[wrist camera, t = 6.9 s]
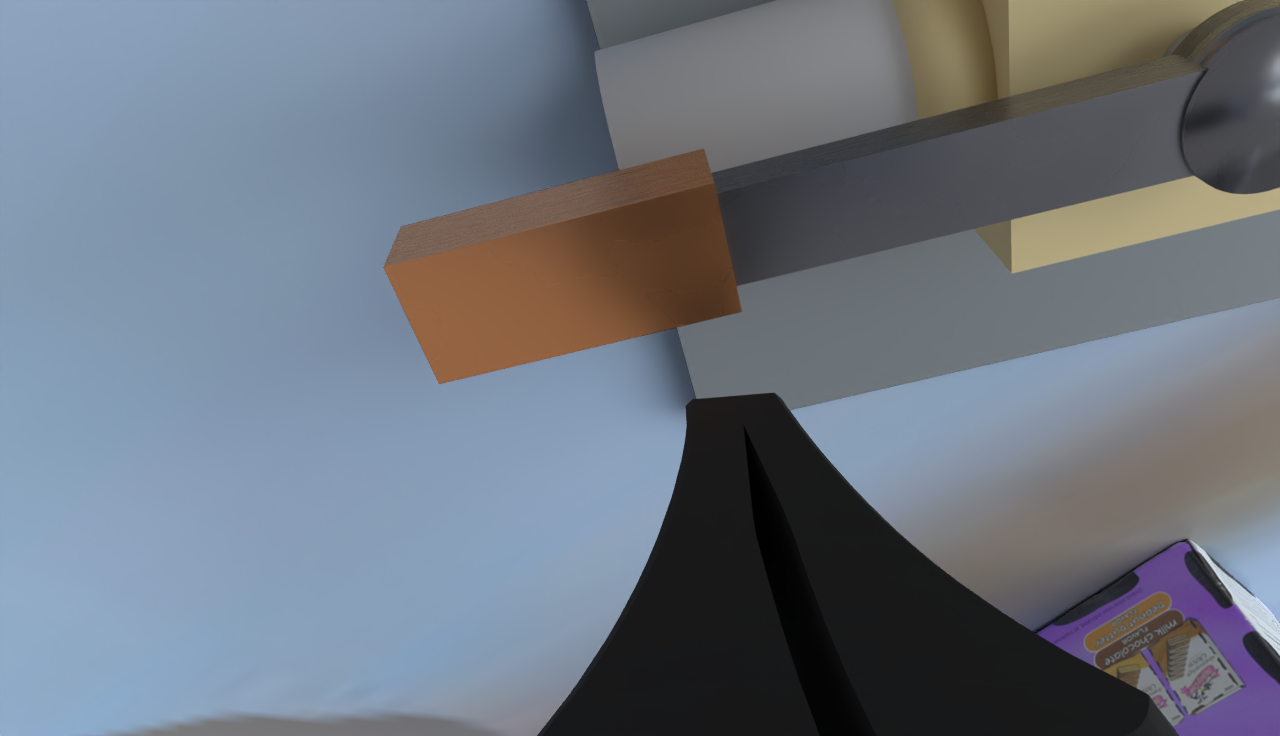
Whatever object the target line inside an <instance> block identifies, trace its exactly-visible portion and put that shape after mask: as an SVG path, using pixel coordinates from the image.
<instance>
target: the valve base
mask: <svg viewBox="0 0 1280 736" xmlns="http://www.w3.org/2000/svg"><path fill="white" fill-rule="evenodd" d="M586 1H587V4H588V8H589V12H590V15H591V19H592V22H593V26H594V30H595V33H596V37H597V41H598V44H599V48H600V50H598V51H595V65H596V71H597V77H598V82H599V88H600V92H601V97H602V102H603V107H604V111H605V115H606V120H607V124H608V128H609V132H610V137H611V141H612V145H613V149H614V153H615V156H616V160H617V164H618V168H619V170H622V169H626V168H629V167H633V166H637V165H641V164H645V163H649V162H653V161H656V160H660V159H664V158H668V157H672V156H676V155H680V154H683V153H687V152H691V151H695V150H699V149H703V148H704V150H705V154H706V157H707V160H708V164H709V167H710V170H711V173H713V172H717V171H721V170H725V169H729V168H733V167H736V166H740V165H744V164H748V163H752V162H756V161H760V160H764V159H768V158H772V157H775V156H779V155H783V154H787V153H791V152H795V151H799V150H803V149H807V148H811V147H815V146H818V145H822V144H826V143H830V142H834V141H838V140H842V139H846V138H850V137H854V136H858V135H861V134H865V133H869V132H873V131H877V130H881V129H885V128H889V127H893V126H897V125H901V124H904V123H908V122H912V121H916V120H920V119H924V118H928V117H932V116H936V115H940V114H943V113H947V112H951V111H955V110H959V109H963V108H967V107H971V106H975V105H979V104H983V103H986V102H990V101H994V100H998V99H1002V98H1006V97H1010V96H1014V95H1018V94H1022V93H1026V92H1029V91H1033V90H1037V89H1041V88H1045V87H1049V86H1053V85H1057V84H1061V83H1065V82H1068V81H1072V80H1076V79H1080V78H1084V77H1088V76H1092V75H1096V74H1100V73H1104V72H1108V71H1111V70H1115V69H1119V68H1123V67H1127V66H1131V65H1135V64H1139V63H1143V62H1147V61H1151V60H1154V59H1158V58H1162V57H1166V56H1170V55H1171V54H1172V53H1173V51H1174V50H1175V49H1176V48H1177V46H1178V45H1179V44H1180V43H1181V42H1182V41H1183V40H1184V39H1185V38H1186V37H1187V36H1188V34H1189V33H1190V32H1191V31H1193V30H1194V29H1195V28H1196V27H1197V26H1199V25H1200V24H1201V23H1202V22H1204V21H1205V20H1206V19H1208V18H1209V17H1211V16H1212V15H1213V14H1215V13H1217V12H1219V11H1220V10H1222V9H1224V8H1226V7H1228V6H1230V5H1232V4H1235V3H1237V2H1240V1H1243V0H586ZM737 291H738V295H739V300H740V304H741V309H742V312H740V313H736V314H732V315H727V316H723V317H719V318H715V319H711V320H707V321H702V322H698V323H694V324H690V325H686V326H681V327H677V330H678V334H679V338H680V341H681V345H682V348H683V352H684V356H685V359H686V363H687V367H688V370H689V374H690V377H691V381H692V385H693V388H694V392H695V396H696V399H701V398H713V397H725V396H737V395H750V394H762V393H774V392H775V393H776V394H777V395H778V396H779V397H780V398H782V400H783V401H784V403H785V404H786V406H787V407H788V409H789V410H793V409H797V408H801V407H806V406H810V405H814V404H819V403H823V402H828V401H832V400H836V399H841V398H845V397H849V396H854V395H858V394H862V393H867V392H871V391H875V390H880V389H884V388H889V387H893V386H897V385H902V384H906V383H910V382H915V381H919V380H923V379H928V378H932V377H936V376H941V375H945V374H950V373H954V372H958V371H963V370H967V369H971V368H976V367H980V366H984V365H989V364H993V363H997V362H1002V361H1006V360H1011V359H1015V358H1019V357H1024V356H1028V355H1032V354H1037V353H1041V352H1045V351H1050V350H1054V349H1058V348H1063V347H1067V346H1072V345H1076V344H1080V343H1085V342H1089V341H1093V340H1098V339H1102V338H1106V337H1111V336H1115V335H1119V334H1124V333H1128V332H1133V331H1137V330H1141V329H1146V328H1150V327H1154V326H1159V325H1163V324H1167V323H1172V322H1176V321H1180V320H1185V319H1189V318H1194V317H1198V316H1202V315H1207V314H1211V313H1215V312H1220V311H1224V310H1228V309H1233V308H1237V307H1241V306H1246V305H1250V304H1255V303H1259V302H1263V301H1268V300H1272V299H1276V298H1280V188H1277V189H1273V190H1270V191H1266V192H1261V193H1255V194H1232V193H1228V192H1223V191H1220V190H1218V189H1215V188H1213V187H1211V186H1210V185H1208V184H1206V183H1205V182H1203V181H1202V180H1200V179H1199V178H1197V177H1196V176H1191V177H1187V178H1183V179H1178V180H1174V181H1170V182H1166V183H1162V184H1158V185H1154V186H1149V187H1145V188H1141V189H1137V190H1133V191H1129V192H1125V193H1120V194H1116V195H1112V196H1108V197H1104V198H1100V199H1096V200H1091V201H1087V202H1083V203H1079V204H1075V205H1071V206H1067V207H1063V208H1058V209H1054V210H1050V211H1046V212H1042V213H1038V214H1034V215H1029V216H1025V217H1021V218H1017V219H1013V220H1009V221H1005V222H1000V223H996V224H992V225H988V226H984V227H980V228H976V229H971V230H967V231H963V232H959V233H955V234H951V235H947V236H942V237H938V238H934V239H930V240H926V241H922V242H918V243H913V244H909V245H905V246H901V247H897V248H893V249H889V250H884V251H880V252H876V253H872V254H868V255H864V256H860V257H856V258H851V259H847V260H843V261H839V262H835V263H831V264H827V265H822V266H818V267H814V268H810V269H806V270H802V271H798V272H793V273H789V274H785V275H781V276H777V277H773V278H769V279H764V280H760V281H756V282H752V283H748V284H744V285H740V286H737Z"/></svg>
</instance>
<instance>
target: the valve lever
mask: <svg viewBox="0 0 1280 736" xmlns="http://www.w3.org/2000/svg"><path fill="white" fill-rule="evenodd" d="M1191 176H1196V177H1197V178H1199V179H1200V180H1202V181H1203V182H1205V183H1206V184H1208V185H1210V186H1211V187H1213V188H1215V189H1218V190H1220V191H1223V192H1228V193H1232V194H1255V193H1261V192H1266V191H1270V190H1273V189H1277V188H1280V0H1243V1H1240V2H1237V3H1235V4H1232V5H1230V6H1228V7H1226V8H1224V9H1222V10H1220V11H1219V12H1217V13H1215V14H1213V15H1212V16H1211V17H1209V18H1208V19H1206V20H1205V21H1204V22H1202V23H1201V24H1200V25H1199V26H1197V27H1196V28H1195V29H1194V30H1193V31H1191V32H1190V33H1189V34H1188V36H1187V37H1186V38H1185V39H1184V40H1183V41H1182V42H1181V43H1180V44H1179V45H1178V46H1177V48H1176V49H1175V50H1174V51H1173V53H1172V54H1171V55H1170V56H1166V57H1162V58H1158V59H1154V60H1151V61H1147V62H1143V63H1139V64H1135V65H1131V66H1127V67H1123V68H1119V69H1115V70H1111V71H1108V72H1104V73H1100V74H1096V75H1092V76H1088V77H1084V78H1080V79H1076V80H1072V81H1068V82H1065V83H1061V84H1057V85H1053V86H1049V87H1045V88H1041V89H1037V90H1033V91H1029V92H1026V93H1022V94H1018V95H1014V96H1010V97H1006V98H1002V99H998V100H994V101H990V102H986V103H983V104H979V105H975V106H971V107H967V108H963V109H959V110H955V111H951V112H947V113H943V114H940V115H936V116H932V117H928V118H924V119H920V120H916V121H912V122H908V123H904V124H901V125H897V126H893V127H889V128H885V129H881V130H877V131H873V132H869V133H865V134H861V135H858V136H854V137H850V138H846V139H842V140H838V141H834V142H830V143H826V144H822V145H818V146H815V147H811V148H807V149H803V150H799V151H795V152H791V153H787V154H783V155H779V156H775V157H772V158H768V159H764V160H760V161H756V162H752V163H748V164H744V165H740V166H736V167H733V168H729V169H725V170H721V171H717V172H713V173H711V170H710V167H709V164H708V160H707V157H706V154H705V150H704V148H703V149H699V150H695V151H691V152H687V153H683V154H680V155H676V156H672V157H668V158H664V159H660V160H656V161H653V162H649V163H645V164H641V165H637V166H633V167H629V168H626V169H622V170H618V171H614V172H610V173H606V174H602V175H599V176H595V177H591V178H587V179H583V180H579V181H575V182H572V183H568V184H564V185H560V186H556V187H552V188H548V189H545V190H541V191H537V192H533V193H529V194H525V195H521V196H518V197H514V198H510V199H506V200H502V201H498V202H494V203H491V204H487V205H483V206H479V207H475V208H471V209H467V210H463V211H460V212H456V213H452V214H448V215H444V216H440V217H436V218H433V219H429V220H425V221H421V222H417V223H413V224H409V225H406V226H402V227H400V230H399V232H398V234H397V237H396V239H395V241H394V244H393V246H392V248H391V251H390V253H389V255H388V258H387V260H386V262H385V265H384V267H383V268H384V270H385V272H386V274H387V276H388V278H389V280H390V282H391V284H392V287H393V289H394V291H395V293H396V295H397V297H398V299H399V301H400V303H401V305H402V308H403V310H404V312H405V314H406V316H407V318H408V320H409V322H410V324H411V326H412V328H413V331H414V333H415V335H416V337H417V339H418V341H419V343H420V345H421V347H422V349H423V352H424V354H425V356H426V358H427V360H428V362H429V364H430V366H431V368H432V370H433V372H434V375H435V377H436V379H437V381H438V383H439V384H442V383H446V382H451V381H455V380H459V379H463V378H467V377H471V376H476V375H480V374H484V373H488V372H492V371H497V370H501V369H505V368H509V367H513V366H518V365H522V364H526V363H530V362H534V361H539V360H543V359H547V358H551V357H555V356H560V355H564V354H568V353H572V352H576V351H581V350H585V349H589V348H593V347H597V346H602V345H606V344H610V343H614V342H618V341H623V340H627V339H631V338H635V337H639V336H644V335H648V334H652V333H656V332H660V331H665V330H669V329H673V328H677V327H681V326H686V325H690V324H694V323H698V322H702V321H707V320H711V319H715V318H719V317H723V316H727V315H732V314H736V313H740V312H742V309H741V304H740V300H739V295H738V291H737V286H740V285H744V284H748V283H752V282H756V281H760V280H764V279H769V278H773V277H777V276H781V275H785V274H789V273H793V272H798V271H802V270H806V269H810V268H814V267H818V266H822V265H827V264H831V263H835V262H839V261H843V260H847V259H851V258H856V257H860V256H864V255H868V254H872V253H876V252H880V251H884V250H889V249H893V248H897V247H901V246H905V245H909V244H913V243H918V242H922V241H926V240H930V239H934V238H938V237H942V236H947V235H951V234H955V233H959V232H963V231H967V230H971V229H976V228H980V227H984V226H988V225H992V224H996V223H1000V222H1005V221H1009V220H1013V219H1017V218H1021V217H1025V216H1029V215H1034V214H1038V213H1042V212H1046V211H1050V210H1054V209H1058V208H1063V207H1067V206H1071V205H1075V204H1079V203H1083V202H1087V201H1091V200H1096V199H1100V198H1104V197H1108V196H1112V195H1116V194H1120V193H1125V192H1129V191H1133V190H1137V189H1141V188H1145V187H1149V186H1154V185H1158V184H1162V183H1166V182H1170V181H1174V180H1178V179H1183V178H1187V177H1191Z"/></svg>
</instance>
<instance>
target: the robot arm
mask: <svg viewBox="0 0 1280 736" xmlns="http://www.w3.org/2000/svg"><path fill="white" fill-rule="evenodd" d="M686 421H687V429H686V438H685V444H684V450H683V455H682V460H681V464H680V468H679V472H678V476H677V480H676V484H675V487H674V491H673V494H672V498H671V501H670V504H669V507H668V509H667V512H666V515H665V518H664V521H663V524H662V526H661V529H660V532H659V535H658V537H657V540H656V542H655V545H654V547H653V550H652V552H651V554H650V557H649V559H648V561H647V564H646V566H645V568H644V570H643V572H642V574H641V576H640V579H639V581H638V583H637V585H636V587H635V589H634V591H633V593H632V594H631V596H630V598H629V600H628V602H627V604H626V606H625V608H624V610H623V611H622V613H621V615H620V617H619V619H618V621H617V622H616V624H615V626H614V628H613V629H612V631H611V633H610V634H609V636H608V638H607V639H606V641H605V642H604V644H603V645H602V647H601V648H600V650H599V651H598V653H597V655H596V656H595V658H594V659H593V661H592V662H591V664H590V665H589V667H588V668H587V670H586V671H585V673H584V674H583V676H582V677H581V679H580V680H579V682H578V683H577V685H576V686H575V687H574V689H573V690H572V692H571V693H570V694H569V696H568V697H567V698H566V700H565V701H564V702H563V703H562V705H561V706H560V707H559V709H558V710H557V711H556V712H555V714H554V715H553V716H552V717H551V719H550V720H549V721H548V723H547V724H546V725H545V726H544V728H543V729H542V730H541V731H540V733H539V734H538V735H537V736H1179V735H1178V733H1177V732H1176V730H1175V729H1174V728H1173V726H1172V725H1171V724H1170V722H1169V721H1168V720H1167V719H1166V717H1165V716H1164V715H1163V713H1162V712H1161V711H1160V710H1159V708H1158V707H1157V706H1156V704H1155V703H1154V701H1153V700H1152V699H1151V697H1150V696H1149V695H1148V694H1147V693H1145V692H1143V691H1141V690H1139V689H1137V688H1135V687H1133V686H1131V685H1130V684H1128V683H1126V682H1124V681H1122V680H1120V679H1118V678H1116V677H1114V676H1112V675H1110V674H1108V673H1106V672H1104V671H1102V670H1100V669H1099V668H1097V667H1095V666H1093V665H1091V664H1089V663H1087V662H1085V661H1083V660H1081V659H1079V658H1077V657H1075V656H1073V655H1072V654H1070V653H1068V652H1066V651H1064V650H1063V649H1061V648H1059V647H1058V646H1056V645H1054V644H1053V643H1051V642H1049V641H1047V640H1046V639H1044V638H1042V637H1041V636H1039V635H1037V634H1036V633H1034V632H1032V631H1031V630H1029V629H1027V628H1026V627H1024V626H1022V625H1021V624H1019V623H1018V622H1016V621H1015V620H1013V619H1011V618H1010V617H1008V616H1007V615H1005V614H1004V613H1002V612H1001V611H999V610H998V609H997V608H995V607H994V606H992V605H991V604H989V603H988V602H986V601H985V600H984V599H982V598H981V597H979V596H978V595H976V594H975V593H973V592H972V591H971V590H969V589H968V588H966V587H965V586H963V585H962V584H960V583H959V582H958V581H956V580H955V579H954V578H953V577H951V576H950V575H949V574H947V573H946V572H945V571H944V570H942V569H941V568H940V567H938V566H937V565H936V564H935V563H933V562H932V561H931V560H930V559H929V558H927V557H926V556H925V555H924V554H923V553H921V552H920V551H919V550H918V549H917V548H916V547H914V546H913V545H912V544H911V543H910V542H909V541H907V540H906V539H905V538H904V537H903V536H902V535H901V534H900V533H898V532H897V531H896V530H895V529H894V528H893V527H892V526H891V525H890V524H889V523H888V522H887V521H886V520H885V519H884V518H883V517H882V516H881V515H880V514H879V513H878V512H877V511H876V510H875V509H874V508H873V507H871V506H870V505H869V504H868V503H867V502H866V501H865V500H864V498H863V497H862V496H861V495H860V494H859V493H858V492H857V491H856V490H855V489H854V488H853V487H852V486H851V485H850V484H849V482H848V481H847V480H846V479H845V478H844V477H843V476H842V475H841V473H840V472H839V471H838V470H837V469H836V468H835V467H834V466H833V465H832V463H831V462H830V461H829V460H828V459H827V458H826V456H825V455H824V454H823V453H822V452H821V450H820V449H819V448H818V447H817V446H816V444H815V443H814V442H813V441H812V439H811V438H810V437H809V436H808V434H807V433H806V432H805V430H804V429H803V428H802V426H801V425H800V424H799V423H798V421H797V420H796V418H795V417H794V416H793V414H792V413H791V411H790V410H789V409H788V407H787V406H786V404H785V403H784V401H783V400H782V398H780V397H779V396H778V395H777V394H776V393H775V392H774V393H762V394H750V395H737V396H725V397H713V398H701V399H693V400H692V401H691V402H690V403H688V404H687V405H686Z"/></svg>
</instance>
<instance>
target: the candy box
mask: <svg viewBox="0 0 1280 736" xmlns="http://www.w3.org/2000/svg"><path fill="white" fill-rule="evenodd" d="M1036 634H1037V635H1039V636H1041V637H1042V638H1044V639H1046V640H1047V641H1049V642H1051V643H1053V644H1054V645H1056V646H1058V647H1059V648H1061V649H1063V650H1064V651H1066V652H1068V653H1070V654H1072V655H1073V656H1075V657H1077V658H1079V659H1081V660H1083V661H1085V662H1087V663H1089V664H1091V665H1093V666H1095V667H1097V668H1099V669H1100V670H1102V671H1104V672H1106V673H1108V674H1110V675H1112V676H1114V677H1116V678H1118V679H1120V680H1122V681H1124V682H1126V683H1128V684H1130V685H1131V686H1133V687H1135V688H1137V689H1139V690H1141V691H1143V692H1145V693H1147V694H1148V695H1149V696H1150V697H1151V699H1152V700H1153V701H1154V703H1155V704H1156V706H1157V707H1158V708H1159V710H1160V711H1161V712H1162V713H1163V715H1164V716H1165V717H1166V719H1167V720H1168V721H1169V722H1170V724H1171V725H1172V726H1173V728H1174V729H1175V730H1176V732H1177V733H1178V735H1179V736H1280V622H1279V621H1278V620H1277V619H1276V617H1275V616H1274V615H1273V614H1272V613H1271V611H1270V610H1269V609H1268V608H1267V607H1266V606H1265V605H1264V604H1263V603H1262V602H1261V601H1260V600H1259V599H1258V598H1257V597H1256V596H1255V595H1254V594H1253V593H1251V592H1250V591H1249V590H1248V589H1247V588H1246V587H1244V586H1243V585H1242V584H1241V583H1240V582H1239V581H1237V580H1236V579H1235V578H1234V577H1233V576H1232V575H1230V574H1229V573H1228V572H1227V571H1226V570H1225V569H1223V568H1222V567H1221V566H1220V564H1219V563H1217V562H1216V561H1215V560H1214V559H1213V558H1212V557H1211V556H1210V555H1208V554H1207V553H1206V552H1205V551H1204V550H1203V549H1202V548H1200V547H1199V546H1198V545H1197V544H1195V543H1194V542H1193V541H1192V540H1189V539H1188V540H1186V541H1185V542H1178V543H1176V544H1174V545H1173V546H1171V547H1170V548H1168V549H1167V550H1165V551H1164V552H1162V553H1160V554H1158V555H1157V556H1155V557H1153V558H1152V559H1150V560H1149V561H1147V562H1145V563H1144V564H1142V565H1141V566H1139V567H1138V568H1136V569H1135V570H1134V571H1132V572H1131V573H1129V574H1127V575H1126V576H1125V577H1123V578H1122V579H1120V580H1119V581H1117V582H1116V583H1114V584H1113V585H1112V586H1110V587H1109V588H1107V589H1105V590H1103V591H1102V592H1101V593H1099V594H1097V595H1095V596H1093V597H1092V598H1090V599H1088V600H1087V601H1085V602H1084V603H1082V604H1080V605H1079V606H1077V607H1076V608H1074V609H1073V610H1071V611H1070V612H1068V613H1067V614H1066V615H1064V616H1063V617H1062V618H1060V619H1059V620H1057V621H1055V622H1054V623H1052V624H1050V625H1049V626H1047V627H1046V628H1044V629H1043V630H1041V631H1039V632H1038V633H1036Z"/></svg>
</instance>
